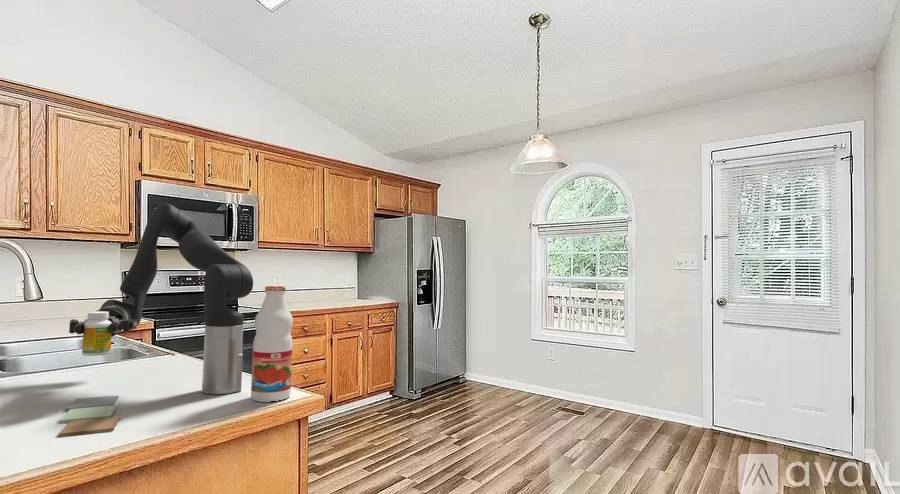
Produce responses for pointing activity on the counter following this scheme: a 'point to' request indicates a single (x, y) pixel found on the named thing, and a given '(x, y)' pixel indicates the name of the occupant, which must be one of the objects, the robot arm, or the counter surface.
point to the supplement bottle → (96, 334)
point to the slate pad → (93, 402)
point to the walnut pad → (90, 426)
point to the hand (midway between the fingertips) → (95, 329)
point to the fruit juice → (272, 348)
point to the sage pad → (88, 413)
